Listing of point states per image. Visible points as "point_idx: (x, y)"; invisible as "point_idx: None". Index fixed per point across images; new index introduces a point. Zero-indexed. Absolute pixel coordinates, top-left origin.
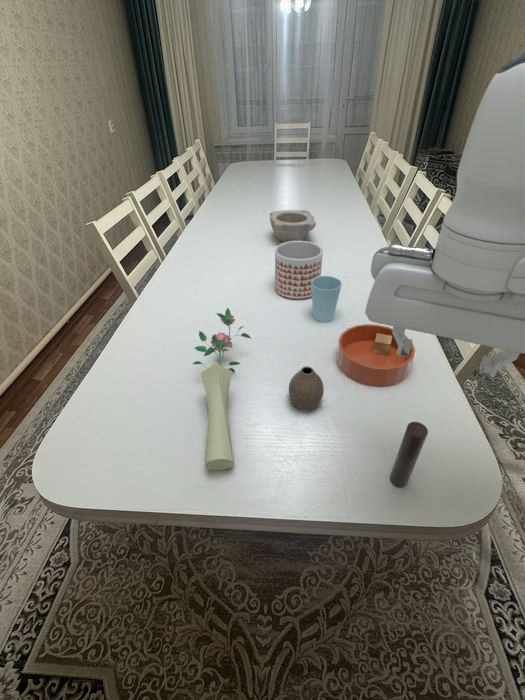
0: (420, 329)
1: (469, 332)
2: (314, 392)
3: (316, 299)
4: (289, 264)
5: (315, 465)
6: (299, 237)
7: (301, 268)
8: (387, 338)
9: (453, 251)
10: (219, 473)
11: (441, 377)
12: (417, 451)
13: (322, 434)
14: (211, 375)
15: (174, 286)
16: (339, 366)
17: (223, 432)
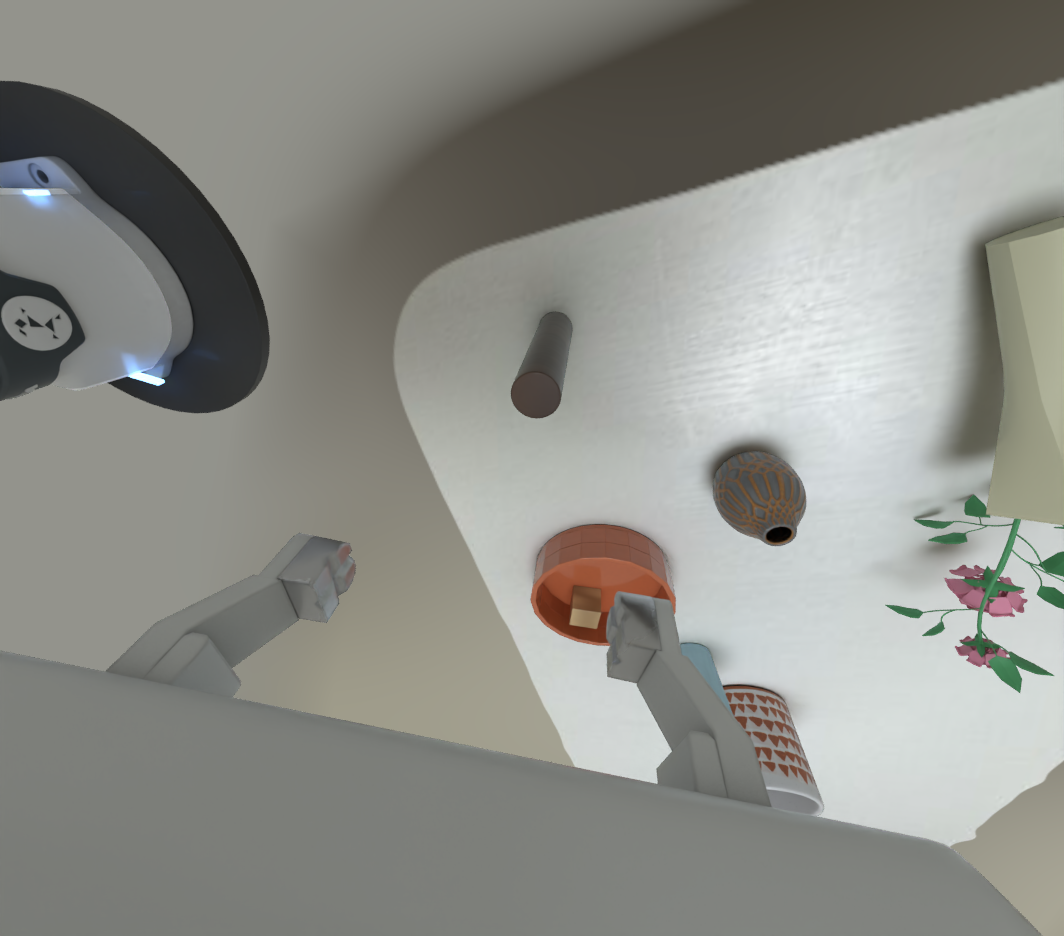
0: (625, 809)
1: (308, 822)
2: (748, 485)
3: (720, 695)
4: (787, 775)
5: (733, 317)
6: None
7: None
8: (577, 619)
9: None
10: (1019, 220)
11: (485, 554)
12: (530, 353)
13: (710, 400)
14: None
15: (1046, 716)
16: (664, 557)
17: (1054, 318)
